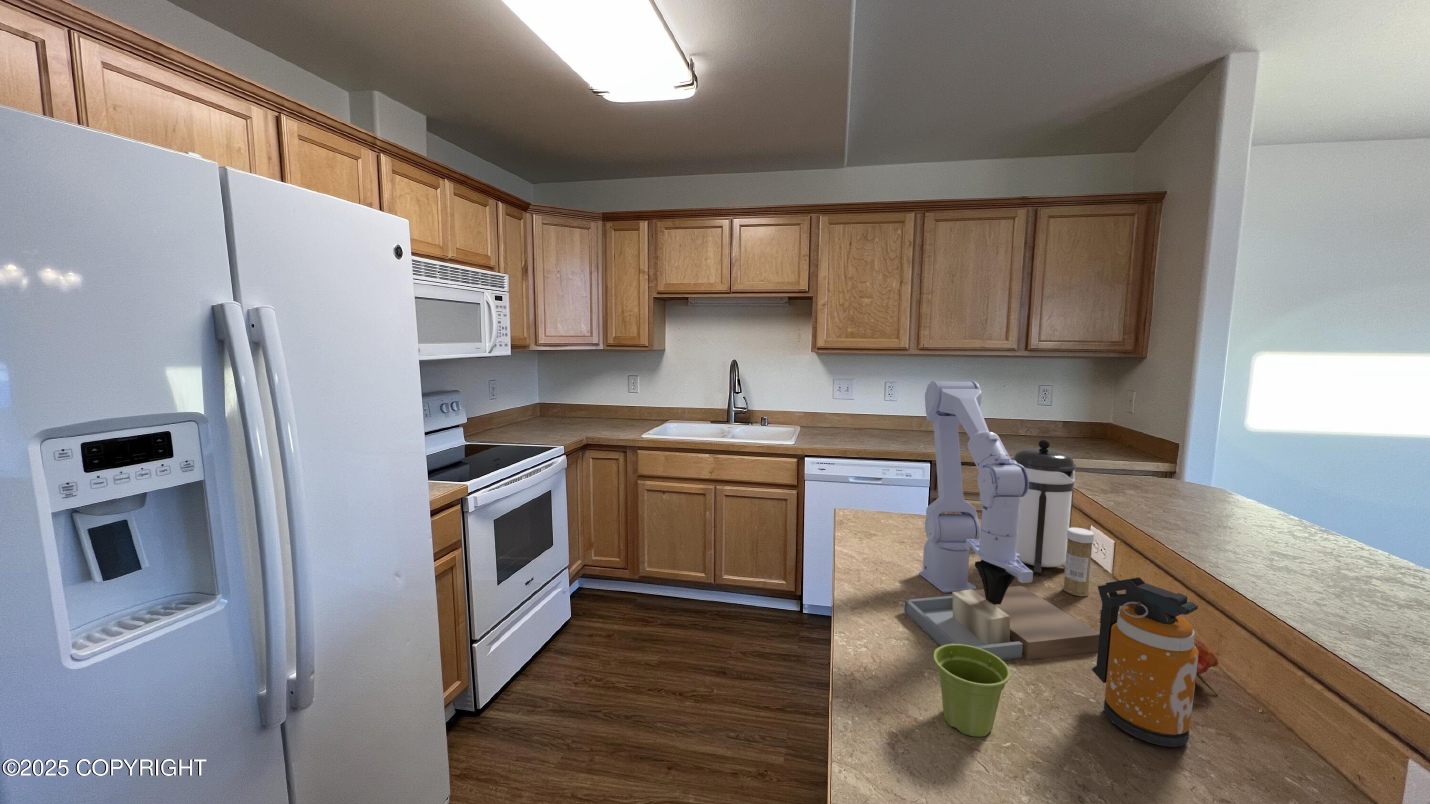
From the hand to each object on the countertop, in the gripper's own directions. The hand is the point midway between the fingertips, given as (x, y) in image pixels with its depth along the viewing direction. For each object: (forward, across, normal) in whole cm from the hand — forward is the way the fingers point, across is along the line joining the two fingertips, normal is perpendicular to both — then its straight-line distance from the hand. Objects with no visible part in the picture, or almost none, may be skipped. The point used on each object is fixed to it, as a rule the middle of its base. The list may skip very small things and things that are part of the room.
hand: (993, 602), depth 95 cm
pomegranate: (+5, -18, -20) cm, 27 cm away
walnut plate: (+5, 0, -6) cm, 8 cm away
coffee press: (+6, +25, -30) cm, 39 cm away
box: (+5, 0, +7) cm, 9 cm away
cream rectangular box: (+2, 0, +1) cm, 2 cm away
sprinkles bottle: (+6, +10, -28) cm, 30 cm away
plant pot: (+5, -20, +20) cm, 29 cm away
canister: (+5, -24, -4) cm, 25 cm away
